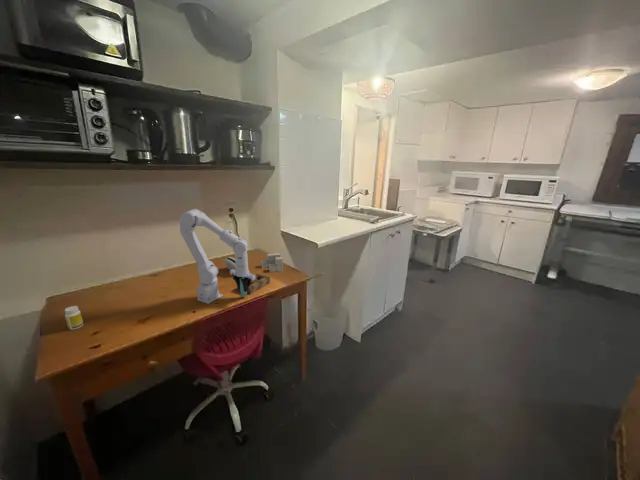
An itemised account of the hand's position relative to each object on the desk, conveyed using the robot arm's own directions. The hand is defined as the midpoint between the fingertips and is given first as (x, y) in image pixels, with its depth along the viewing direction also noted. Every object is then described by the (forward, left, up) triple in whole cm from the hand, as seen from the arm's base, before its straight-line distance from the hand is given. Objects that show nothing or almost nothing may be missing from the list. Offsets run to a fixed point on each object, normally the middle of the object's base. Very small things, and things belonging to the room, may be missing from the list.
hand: (243, 290), depth 137 cm
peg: (0, 0, -3) cm, 3 cm away
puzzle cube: (+38, +12, -5) cm, 40 cm away
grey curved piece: (+22, +27, -4) cm, 36 cm away
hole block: (+12, +4, -4) cm, 13 cm away
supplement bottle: (-52, +42, -4) cm, 67 cm away
